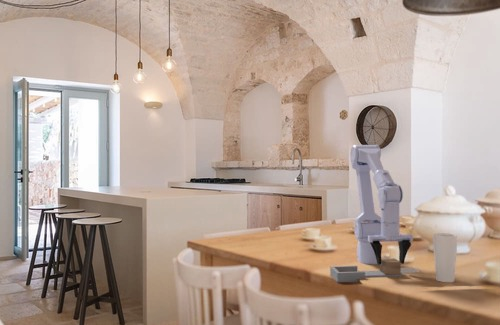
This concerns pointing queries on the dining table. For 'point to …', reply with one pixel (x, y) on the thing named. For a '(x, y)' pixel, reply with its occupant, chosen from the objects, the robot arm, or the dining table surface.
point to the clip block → (390, 266)
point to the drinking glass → (445, 256)
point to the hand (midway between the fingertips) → (390, 263)
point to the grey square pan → (354, 274)
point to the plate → (409, 270)
